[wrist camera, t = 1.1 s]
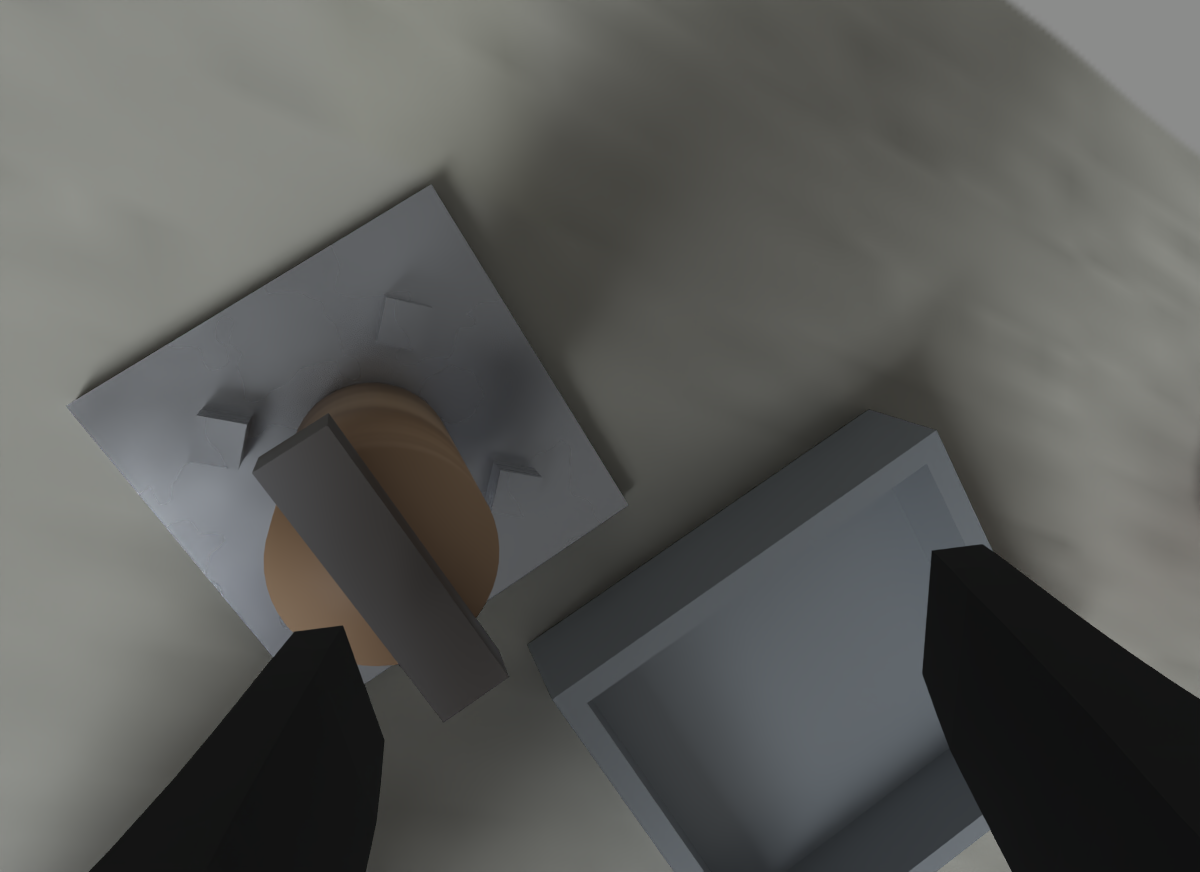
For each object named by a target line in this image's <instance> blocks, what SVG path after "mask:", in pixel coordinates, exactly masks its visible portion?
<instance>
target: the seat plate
mask: <svg viewBox="0 0 1200 872" xmlns="http://www.w3.org/2000/svg"><path fill="white" fill-rule="evenodd" d="M362 383H383V384H390V385H393V386H397V387H400V388H403V389H405V390H408V391H410V392H412V393H413V394H415V395H417V396H418V397H420V398H421V399H422V400H424V401H425V402H426V403H427V404H428V405H429V406H430V407H431V408H432V409H433V410H434V411H435V412H436V413H437V415H438V416H439V417H440V419H441V421H442V423H443V424H444V426H445V428H446V430H447V431H448V433H449V435H450V437H451V439H452V441H453V442H454V444H455V446H456V448H457V450H458V451H459V453H460V455H461V457H462V459H463V461H464V462H465V464H466V466H467V468H468V470H469V471H470V473H471V475H472V477H473V479H474V481H475V482H476V484H477V486H478V488H479V490H480V491H481V493H482V495H483V497H484V499H485V501H486V502H487V504H488V506H489V508H490V510H491V513H492V515H493V518H494V520H495V524H496V528H497V532H498V539H499V565H498V571H497V576H496V579H495V583H494V586H493V589H492V591H491V593H490V596H489V598H488V600H489V599H491V598H492V597H494V596H495V595H497V594H498V593H500V592H501V591H503V590H504V589H506V588H507V587H508V586H510V585H511V584H513V583H514V582H516V581H517V580H519V579H520V578H522V577H523V576H525V575H526V574H528V573H529V572H531V571H532V570H534V569H535V568H536V567H538V566H539V565H541V564H542V563H544V562H545V561H547V560H548V559H550V558H551V557H553V556H554V555H556V554H557V553H559V552H560V551H562V550H563V549H565V548H566V547H567V546H569V545H570V544H572V543H573V542H575V541H576V540H578V539H579V538H581V537H582V536H584V535H585V534H587V533H588V532H590V531H591V530H593V529H594V528H596V527H597V526H598V525H600V524H601V523H603V522H604V521H606V520H607V519H609V518H610V517H612V516H613V515H615V514H616V513H618V512H619V511H621V510H622V509H624V508H625V507H626V506H628V503H627V502H626V500H625V498H624V497H623V495H622V493H621V492H620V490H619V489H618V487H617V485H616V484H615V482H614V480H613V479H612V477H611V476H610V474H609V472H608V471H607V469H606V467H605V466H604V464H603V463H602V461H601V459H600V458H599V456H598V454H597V453H596V451H595V450H594V448H593V446H592V445H591V443H590V441H589V440H588V438H587V437H586V435H585V433H584V432H583V430H582V428H581V427H580V425H579V424H578V422H577V420H576V419H575V417H574V415H573V414H572V412H571V411H570V409H569V407H568V406H567V404H566V402H565V401H564V399H563V398H562V396H561V394H560V393H559V391H558V389H557V388H556V386H555V385H554V383H553V381H552V380H551V378H550V376H549V375H548V373H547V372H546V370H545V368H544V367H543V365H542V363H541V362H540V360H539V359H538V357H537V355H536V354H535V352H534V350H533V349H532V347H531V346H530V344H529V342H528V341H527V339H526V337H525V336H524V334H523V332H522V331H521V329H520V328H519V326H518V324H517V323H516V321H515V319H514V318H513V316H512V315H511V313H510V311H509V310H508V308H507V306H506V305H505V303H504V302H503V300H502V298H501V297H500V295H499V293H498V292H497V290H496V289H495V287H494V285H493V284H492V282H491V280H490V279H489V277H488V276H487V274H486V272H485V271H484V269H483V267H482V266H481V264H480V263H479V261H478V259H477V258H476V256H475V254H474V253H473V251H472V250H471V248H470V246H469V245H468V243H467V241H466V240H465V238H464V237H463V235H462V233H461V232H460V230H459V228H458V227H457V225H456V224H455V222H454V220H453V219H452V217H451V215H450V214H449V212H448V211H447V209H446V207H445V206H444V204H443V202H442V201H441V199H440V198H439V196H438V194H437V193H436V191H435V189H434V188H433V186H432V185H429V186H427V187H426V188H424V189H422V190H421V191H419V192H417V193H416V194H414V195H413V196H411V197H409V198H408V199H406V200H404V201H403V202H401V203H399V204H398V205H396V206H394V207H393V208H391V209H389V210H388V211H386V212H385V213H383V214H381V215H380V216H378V217H376V218H375V219H373V220H371V221H370V222H368V223H366V224H365V225H363V226H361V227H360V228H358V229H356V230H355V231H353V232H352V233H350V234H348V235H347V236H345V237H343V238H342V239H340V240H338V241H337V242H335V243H333V244H332V245H330V246H328V247H327V248H325V249H324V250H322V251H320V252H319V253H317V254H315V255H314V256H312V257H310V258H309V259H307V260H305V261H304V262H302V263H300V264H299V265H297V266H296V267H294V268H292V269H291V270H289V271H287V272H286V273H284V274H282V275H281V276H279V277H277V278H276V279H274V280H272V281H271V282H269V283H268V284H266V285H264V286H263V287H261V288H259V289H258V290H256V291H254V292H253V293H251V294H249V295H248V296H246V297H244V298H243V299H241V300H239V301H238V302H236V303H235V304H233V305H231V306H230V307H228V308H226V309H225V310H223V311H221V312H220V313H218V314H216V315H215V316H213V317H211V318H210V319H208V320H207V321H205V322H203V323H202V324H200V325H198V326H197V327H195V328H193V329H192V330H190V331H188V332H187V333H185V334H183V335H182V336H180V337H179V338H177V339H175V340H174V341H172V342H170V343H169V344H167V345H165V346H164V347H162V348H160V349H159V350H157V351H155V352H154V353H152V354H151V355H149V356H147V357H146V358H144V359H142V360H141V361H139V362H137V363H136V364H134V365H132V366H131V367H129V368H127V369H126V370H124V371H122V372H121V373H119V374H118V375H116V376H114V377H113V378H111V379H109V380H108V381H106V382H104V383H103V384H101V385H99V386H98V387H96V388H94V389H93V390H91V391H90V392H88V393H86V394H85V395H83V396H81V397H80V398H78V399H76V400H75V401H73V402H71V403H70V404H68V405H66V407H67V408H68V409H69V411H70V412H71V413H72V414H73V415H74V417H75V418H76V419H77V420H78V421H79V423H80V424H81V425H82V426H83V427H84V429H85V430H86V431H87V432H88V434H89V435H90V436H91V437H92V438H93V440H94V441H95V442H96V443H97V444H98V446H99V447H100V448H101V449H102V451H103V452H104V453H105V454H106V455H107V457H108V458H109V459H110V460H111V461H112V463H113V464H114V465H115V466H116V467H117V469H118V470H119V471H120V472H121V474H122V475H123V476H124V477H125V478H126V480H127V481H128V482H129V483H130V484H131V486H132V487H133V488H134V489H135V491H136V492H137V493H138V494H139V495H140V497H141V498H142V499H143V500H144V501H145V503H146V504H147V505H148V506H149V507H150V509H151V510H152V511H153V512H154V514H155V515H156V516H157V517H158V518H159V520H160V521H161V522H162V523H163V524H164V526H165V527H166V528H167V529H168V531H169V532H170V533H171V534H172V535H173V537H174V538H175V539H176V540H177V541H178V543H179V544H180V545H181V546H182V547H183V549H184V550H185V551H186V552H187V554H188V555H189V556H190V557H191V558H192V560H193V561H194V562H195V563H196V564H197V566H198V567H199V568H200V569H201V571H202V572H203V573H204V574H205V575H206V577H207V578H208V579H209V580H210V581H211V583H212V584H213V585H214V586H215V587H216V589H217V590H218V591H219V592H220V594H221V595H222V596H223V597H224V598H225V600H226V601H227V602H228V603H229V604H230V606H231V607H232V608H233V609H234V611H235V612H236V613H237V614H238V615H239V617H240V618H241V619H242V620H243V621H244V623H245V624H246V625H247V626H248V627H249V629H250V630H251V631H252V632H253V634H254V635H255V636H256V637H257V638H258V640H259V641H260V642H261V643H262V644H263V646H264V647H265V648H266V649H267V651H268V652H269V653H270V654H271V655H272V657H274V656H275V654H276V653H277V652H278V651H279V650H280V648H281V647H282V646H283V645H284V643H285V642H286V641H287V640H288V639H289V637H290V636H291V635H292V634H293V632H292V631H291V630H290V629H289V628H288V627H287V626H286V624H285V623H284V621H283V620H282V619H281V617H280V616H279V614H278V613H277V611H276V609H275V607H274V605H273V603H272V601H271V598H270V595H269V592H268V589H267V586H266V580H265V574H264V550H265V542H266V538H267V534H268V531H269V527H270V523H271V520H272V516H273V513H274V509H275V506H276V504H275V503H274V501H273V500H272V499H271V497H270V496H269V495H268V493H267V492H266V491H265V490H264V488H263V487H262V486H261V484H260V483H259V482H258V480H257V479H256V478H255V477H254V475H253V474H252V472H253V469H254V467H255V465H256V462H257V460H258V457H260V456H261V455H263V454H264V453H266V452H268V451H269V450H271V449H272V448H274V447H275V446H277V445H279V444H280V443H282V442H283V441H285V440H287V439H288V438H290V437H291V436H293V435H294V434H296V432H297V430H298V428H299V426H300V424H301V422H302V421H303V419H304V417H305V416H306V415H307V414H308V412H309V411H310V410H311V409H312V408H313V407H314V406H315V405H316V404H317V403H318V402H319V401H321V400H322V399H323V398H325V397H326V396H328V395H330V394H331V393H333V392H335V391H337V390H340V389H342V388H345V387H347V386H352V385H356V384H362ZM488 600H487V601H488ZM357 666H358V668H359V671H360V674H361V677H362V679H363V682H364V684H365V683H367V682H368V681H370V680H371V679H373V678H374V677H376V676H377V675H379V674H380V673H382V672H383V671H385V670H386V669H387V668H389V667H390V666H392V665H388V666H362V665H357Z"/></svg>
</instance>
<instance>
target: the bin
mask: <svg viewBox="0 0 1200 872" xmlns="http://www.w3.org/2000/svg"><path fill="white" fill-rule="evenodd" d="M979 544H983V545H985V546H986V547H987V548H989V549H990V550H992V548H991V546H990V544H989V542H988V540H987V537H986V535H985V533H984V531H983V529H982V527H981V525H980V522H979V520H978V518H977V516H976V514H975V512H974V509H973V507H972V505H971V503H970V501H969V499H968V497H967V494H966V492H965V490H964V488H963V486H962V484H961V482H960V479H959V477H958V475H957V473H956V471H955V469H954V466H953V464H952V462H951V460H950V458H949V456H948V454H947V451H946V449H945V447H944V445H943V443H942V441H941V439H940V436H939V434H938V432H937V430H934V429H931V428H928V427H925V426H921V425H918V424H915V423H912V422H908V421H905V420H902V419H899V418H895V417H892V416H889V415H886V414H882V413H879V412H876V411H873V410H867V411H866V412H864V413H863V414H861V415H860V416H858V417H857V418H856V419H854V420H853V421H851V422H850V423H848V424H847V425H845V426H844V427H842V428H841V429H840V430H838V431H837V432H835V433H834V434H832V435H831V436H829V437H828V438H826V439H825V440H824V441H822V442H821V443H819V444H818V445H816V446H815V447H813V448H812V449H811V450H809V451H808V452H806V453H805V454H803V455H802V456H800V457H799V458H797V459H796V460H795V461H793V462H792V463H790V464H789V465H787V466H786V467H784V468H783V469H781V470H780V471H779V472H777V473H776V474H774V475H773V476H771V477H770V478H768V479H767V480H766V481H764V482H763V483H761V484H760V485H758V486H757V487H755V488H754V489H752V490H751V491H750V492H748V493H747V494H745V495H744V496H742V497H741V498H739V499H738V500H737V501H735V502H734V503H732V504H731V505H729V506H728V507H726V508H725V509H723V510H722V511H721V512H719V513H718V514H716V515H715V516H713V517H712V518H710V519H709V520H707V521H706V522H705V523H703V524H702V525H700V526H699V527H697V528H696V529H694V530H693V531H692V532H690V533H689V534H687V535H686V536H684V537H683V538H681V539H680V540H678V541H677V542H676V543H674V544H673V545H671V546H670V547H668V548H667V549H665V550H664V551H662V552H661V553H660V554H658V555H657V556H655V557H654V558H652V559H651V560H649V561H648V562H647V563H645V564H644V565H642V566H641V567H639V568H638V569H636V570H635V571H633V572H632V573H631V574H629V575H628V576H626V577H625V578H623V579H622V580H620V581H619V582H617V583H616V584H615V585H613V586H612V587H610V588H609V589H607V590H606V591H604V592H603V593H602V594H600V595H599V596H597V597H596V598H594V599H593V600H591V601H590V602H588V603H587V604H586V605H584V606H583V607H581V608H580V609H578V610H577V611H575V612H574V613H573V614H571V615H570V616H568V617H567V618H565V619H564V620H562V621H561V622H559V623H558V624H557V625H555V626H554V627H552V628H551V629H549V630H548V631H546V632H545V633H543V634H542V635H541V636H539V637H538V638H536V639H535V640H533V641H532V642H530V643H529V644H528V648H529V650H530V652H531V654H532V656H533V659H534V661H535V663H536V665H537V667H538V670H539V672H540V674H541V676H542V678H543V681H544V683H545V685H546V687H547V689H548V692H549V694H550V696H551V698H552V700H553V702H554V703H555V704H556V706H557V707H558V709H559V710H560V711H561V713H562V714H563V716H564V717H565V718H566V720H567V721H568V723H569V724H570V725H571V727H572V728H573V730H574V731H575V733H576V734H577V735H578V737H579V738H580V740H581V741H582V742H583V744H584V745H585V747H586V748H587V749H588V751H589V752H590V754H591V755H592V757H593V758H594V759H595V761H596V762H597V764H598V765H599V766H600V768H601V769H602V771H603V772H604V773H605V775H606V776H607V778H608V779H609V781H610V782H611V783H612V785H613V786H614V788H615V789H616V790H617V792H618V793H619V795H620V796H621V797H622V799H623V800H624V802H625V803H626V805H627V806H628V807H629V809H630V810H631V812H632V813H633V814H634V816H635V817H636V819H637V820H638V821H639V823H640V824H641V826H642V827H643V829H644V830H645V831H646V833H647V834H648V836H649V837H650V838H651V840H652V841H653V843H654V844H655V845H656V847H657V848H658V850H659V851H660V853H661V854H662V855H663V857H664V858H665V860H666V861H667V862H668V864H669V865H670V867H671V868H672V869H673V871H674V872H936V871H938V870H939V869H940V868H941V867H943V866H944V865H945V864H947V863H948V862H949V861H950V860H952V859H953V858H954V857H956V856H957V855H958V854H959V853H961V852H962V851H963V850H965V849H966V848H967V847H968V846H970V845H971V844H972V843H974V842H975V841H976V840H977V839H979V838H980V837H981V836H983V835H984V834H985V833H987V832H988V831H989V830H990V828H989V826H988V824H987V822H986V820H985V818H984V817H983V815H982V813H981V811H980V809H979V807H978V805H977V803H976V801H975V799H974V797H973V795H972V793H971V791H970V789H969V787H968V785H967V783H966V781H965V779H964V777H963V775H962V773H961V771H960V769H959V767H958V765H957V763H956V761H955V759H954V757H953V755H952V753H951V751H950V749H949V746H948V743H947V741H946V738H945V735H944V733H943V730H942V728H941V725H940V722H939V720H938V717H937V714H936V712H935V709H934V706H933V703H932V700H931V697H930V695H929V692H928V689H927V686H926V683H925V681H924V678H923V675H922V668H923V655H924V643H925V630H926V617H927V604H928V592H929V579H930V566H931V553H932V550H939V549H947V548H955V547H963V546H971V545H979ZM992 551H993V550H992Z"/></svg>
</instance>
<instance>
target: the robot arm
mask: <svg viewBox="0 0 1200 872" xmlns="http://www.w3.org/2000/svg"><path fill="white" fill-rule="evenodd" d="M922 675H923V678H924V681H925V683H926V686H927V689H928V692H929V695H930V697H931V700H932V703H933V706H934V709H935V712H936V714H937V717H938V720H939V722H940V725H941V728H942V730H943V733H944V735H945V738H946V741H947V743H948V746H949V749H950V751H951V753H952V755H953V757H954V759H955V761H956V763H957V765H958V767H959V769H960V771H961V773H962V775H963V777H964V779H965V781H966V783H967V785H968V787H969V789H970V791H971V793H972V795H973V797H974V799H975V801H976V803H977V805H978V807H979V809H980V811H981V813H982V815H983V817H984V818H985V820H986V822H987V824H988V826H989V828H990V830H991V832H992V834H993V836H994V838H995V840H996V842H997V844H998V846H999V847H1000V849H1001V851H1002V853H1003V855H1004V857H1005V859H1006V861H1007V863H1008V865H1009V867H1010V869H1011V871H1012V872H1200V699H1199V698H1197V697H1196V696H1194V695H1193V694H1191V693H1190V692H1188V691H1186V690H1185V689H1183V688H1182V687H1180V686H1179V685H1177V684H1175V683H1174V682H1173V681H1171V680H1170V679H1168V678H1167V677H1165V676H1164V675H1162V674H1161V673H1159V672H1158V671H1156V670H1155V669H1153V668H1152V667H1150V666H1149V665H1147V664H1146V663H1144V662H1143V661H1141V660H1140V659H1139V658H1137V657H1136V656H1134V655H1133V654H1131V653H1130V652H1129V651H1127V650H1126V649H1124V648H1123V647H1121V646H1120V645H1119V644H1117V643H1116V642H1114V641H1113V640H1112V639H1110V638H1109V637H1107V636H1106V635H1105V634H1103V633H1102V632H1100V631H1099V630H1098V629H1096V628H1095V627H1093V626H1092V625H1091V624H1089V623H1088V622H1087V621H1085V620H1084V619H1082V618H1081V617H1080V616H1078V615H1077V614H1076V613H1074V612H1073V611H1072V610H1070V609H1069V608H1068V607H1066V606H1065V605H1064V604H1062V603H1061V602H1060V601H1058V600H1057V599H1056V598H1054V597H1053V596H1052V595H1050V594H1049V593H1047V592H1046V591H1045V590H1044V589H1042V588H1041V587H1040V586H1038V585H1037V584H1036V583H1034V582H1033V581H1032V580H1030V579H1029V578H1028V577H1026V576H1025V575H1024V574H1022V573H1021V572H1020V571H1018V570H1017V569H1016V568H1014V567H1013V566H1012V565H1010V564H1009V563H1008V562H1006V561H1005V560H1004V559H1002V558H1001V557H1000V556H998V555H997V554H996V553H994V552H993V551H992V550H990V549H989V548H987V547H986V546H985V545H983V544H979V545H971V546H963V547H955V548H947V549H939V550H932V553H931V566H930V579H929V592H928V604H927V617H926V630H925V643H924V655H923V668H922ZM383 751H384V738H383V735H382V732H381V729H380V727H379V724H378V721H377V718H376V716H375V713H374V710H373V707H372V704H371V702H370V699H369V696H368V693H367V691H366V688H365V685H364V682H363V679H362V677H361V674H360V671H359V668H358V666H357V663H356V660H355V657H354V654H353V652H352V649H351V646H350V643H349V641H348V638H347V635H346V632H345V629H344V627H343V625H342V626H334V627H326V628H318V629H311V630H303V631H295V632H294V633H293V634H292V635H291V636H290V637H289V639H288V640H287V641H286V642H285V643H284V645H283V646H282V647H281V648H280V650H279V651H278V652H277V653H276V654H275V656H274V657H273V658H272V659H271V661H270V662H269V663H268V664H267V666H266V667H265V668H264V669H263V671H262V672H261V673H260V674H259V676H258V677H257V678H256V679H255V681H254V682H253V683H252V684H251V686H250V687H249V688H248V689H247V691H246V692H245V693H244V694H243V696H242V697H241V698H240V699H239V701H238V702H237V703H236V704H235V706H234V707H233V708H232V709H231V710H230V712H229V713H228V714H227V715H226V717H225V718H224V719H223V720H222V722H221V723H220V724H219V725H218V727H217V728H216V729H215V730H214V731H213V733H212V734H211V735H210V736H209V737H208V739H207V740H206V741H205V742H204V743H203V745H202V746H201V747H200V748H199V749H198V751H197V752H196V753H195V754H194V755H193V757H192V758H191V759H190V760H189V761H188V763H187V764H186V765H185V766H184V767H183V769H182V770H181V771H180V772H179V773H178V775H177V776H176V777H175V778H174V779H173V780H172V782H171V783H170V784H169V785H168V786H167V787H166V788H165V789H164V790H163V792H162V793H161V794H160V795H159V796H158V797H157V798H156V799H155V800H154V802H153V803H152V804H151V805H150V806H149V807H148V808H147V809H146V810H145V812H144V813H143V814H142V815H141V816H140V817H139V818H138V819H137V820H136V822H135V823H134V824H133V825H132V826H131V827H130V828H129V829H128V830H127V832H126V833H125V834H124V835H123V836H122V837H121V838H120V839H119V841H118V842H117V843H116V844H115V845H114V846H113V847H112V848H111V849H110V850H109V851H108V852H107V853H106V854H105V856H104V857H103V858H102V859H101V860H100V861H99V862H98V863H97V864H96V865H95V866H94V867H93V868H92V869H91V870H90V871H89V872H366V867H367V863H368V858H369V854H370V849H371V845H372V840H373V835H374V830H375V826H376V821H377V812H378V803H379V794H380V785H381V774H382V762H383Z"/></svg>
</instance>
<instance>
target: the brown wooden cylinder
mask: <svg viewBox="0 0 1200 872" xmlns="http://www.w3.org/2000/svg"><path fill="white" fill-rule="evenodd" d="M252 474H253V475H254V477H255V478H256V479H257V480H258V482H259V483H260V484H261V486H262V487H263V488H264V490H265V491H266V492H267V493H268V495H269V496H270V497H271V499H272V500H273V501H274V503H275V504H276V506H275V509H274V513H273V516H272V520H271V523H270V527H269V531H268V534H267V538H266V542H265V550H264V574H265V580H266V586H267V589H268V592H269V595H270V598H271V601H272V603H273V605H274V607H275V609H276V611H277V613H278V614H279V616H280V617H281V619H282V620H283V621H284V623H285V624H286V626H287V627H288V628H289V629H290V630H291V631H292V632H293V633H294V632H295V631H303V630H311V629H318V628H326V627H334V626H342V625H343V627H344V629H345V632H346V635H347V638H348V641H349V643H350V646H351V649H352V652H353V654H354V657H355V660H356V663H357V665H362V666H388V665H396V664H399V665H400V666H401V668H402V669H403V670H404V672H405V673H406V674H407V676H408V677H409V678H410V679H411V681H412V682H413V683H414V685H415V686H416V687H417V689H418V690H419V691H420V692H421V694H422V695H423V696H424V698H425V699H426V700H427V702H428V703H429V704H430V705H431V707H432V708H433V709H434V711H435V712H436V713H437V715H438V716H439V717H440V718H441V720H442V721H443V722H445V721H446V720H448V719H449V718H451V717H452V716H453V715H455V714H456V713H458V712H459V711H461V710H462V709H464V708H465V707H466V706H468V705H469V704H471V703H472V702H474V701H475V700H477V699H478V698H479V697H481V696H482V695H484V694H485V693H487V692H488V691H490V690H491V689H492V688H494V687H495V686H497V685H498V684H500V683H501V682H503V681H504V680H505V679H507V678H508V677H509V676H508V673H507V671H506V668H505V665H504V663H503V660H502V657H501V655H500V652H499V650H498V648H497V647H496V646H495V644H494V643H493V641H492V640H491V639H490V637H489V636H488V634H487V633H486V632H485V630H484V629H483V627H482V626H481V625H480V623H479V622H478V620H477V619H476V617H477V616H478V615H479V613H480V612H481V610H482V609H483V607H484V605H485V604H486V602H487V600H488V598H489V596H490V593H491V591H492V589H493V586H494V583H495V579H496V576H497V571H498V565H499V539H498V532H497V528H496V524H495V520H494V518H493V515H492V513H491V510H490V508H489V506H488V504H487V502H486V501H485V499H484V497H483V495H482V493H481V491H480V490H479V488H478V486H477V484H476V482H475V481H474V479H473V477H472V475H471V473H470V471H469V470H468V468H467V466H466V464H465V462H464V461H463V459H462V457H461V455H460V453H459V451H458V450H457V448H456V446H455V444H454V442H453V441H452V439H451V437H450V435H449V433H448V431H447V430H446V428H445V426H444V424H443V423H442V421H441V419H440V417H439V416H438V415H437V413H436V412H435V411H434V410H433V409H432V408H431V407H430V406H429V405H428V404H427V403H426V402H425V401H424V400H422V399H421V398H420V397H418V396H417V395H415V394H413V393H412V392H410V391H408V390H405V389H403V388H400V387H397V386H393V385H390V384H383V383H362V384H356V385H352V386H347V387H345V388H342V389H340V390H337V391H335V392H333V393H331V394H330V395H328V396H326V397H325V398H323V399H322V400H321V401H319V402H318V403H317V404H316V405H315V406H314V407H313V408H312V409H311V410H310V411H309V412H308V414H307V415H306V416H305V417H304V419H303V421H302V422H301V424H300V426H299V428H298V430H297V432H296V434H294V435H293V436H291V437H290V438H288V439H287V440H285V441H283V442H282V443H280V444H279V445H277V446H275V447H274V448H272V449H271V450H269V451H268V452H266V453H264V454H263V455H261V456H260V457H258V460H257V462H256V465H255V467H254V469H253V472H252Z"/></svg>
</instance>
